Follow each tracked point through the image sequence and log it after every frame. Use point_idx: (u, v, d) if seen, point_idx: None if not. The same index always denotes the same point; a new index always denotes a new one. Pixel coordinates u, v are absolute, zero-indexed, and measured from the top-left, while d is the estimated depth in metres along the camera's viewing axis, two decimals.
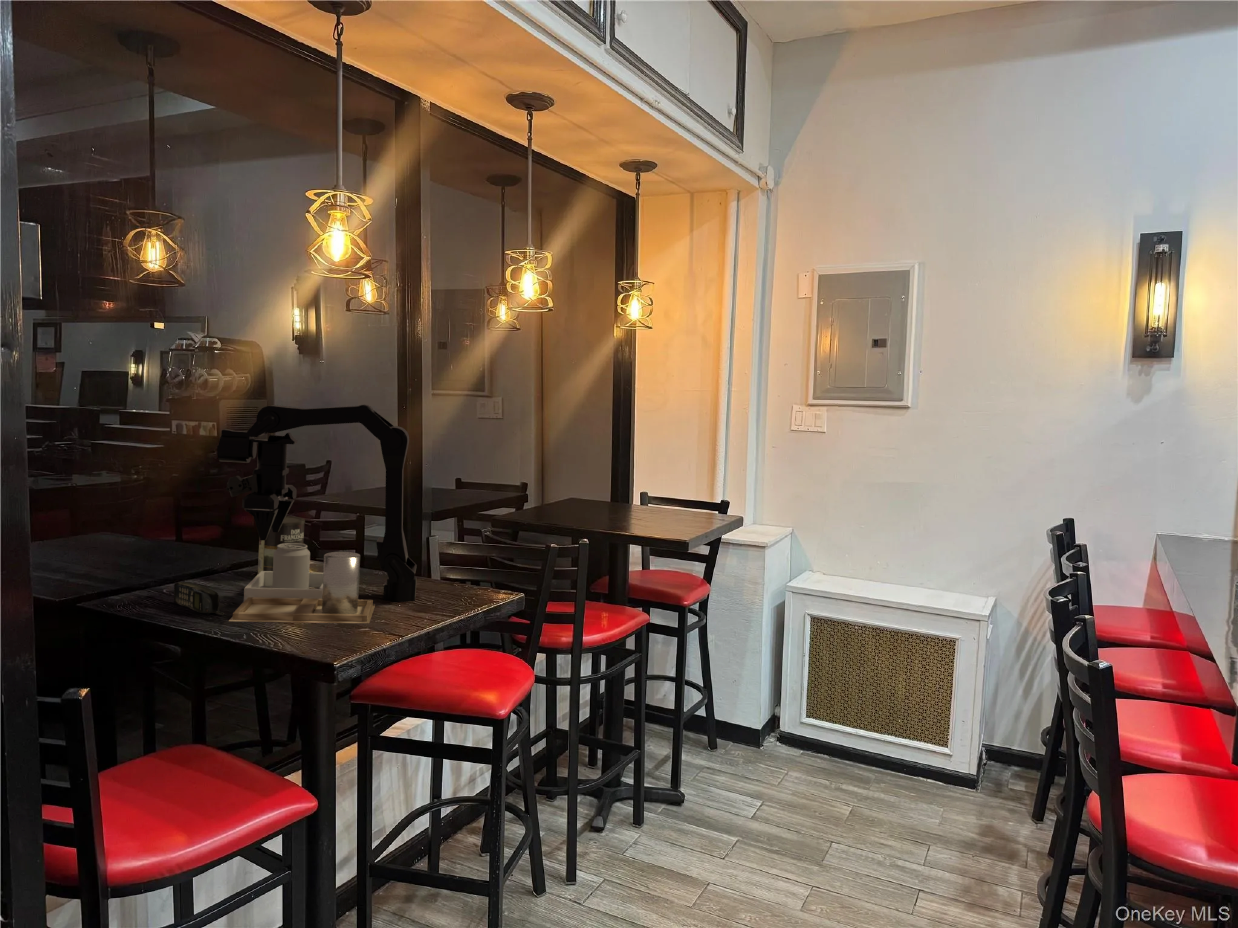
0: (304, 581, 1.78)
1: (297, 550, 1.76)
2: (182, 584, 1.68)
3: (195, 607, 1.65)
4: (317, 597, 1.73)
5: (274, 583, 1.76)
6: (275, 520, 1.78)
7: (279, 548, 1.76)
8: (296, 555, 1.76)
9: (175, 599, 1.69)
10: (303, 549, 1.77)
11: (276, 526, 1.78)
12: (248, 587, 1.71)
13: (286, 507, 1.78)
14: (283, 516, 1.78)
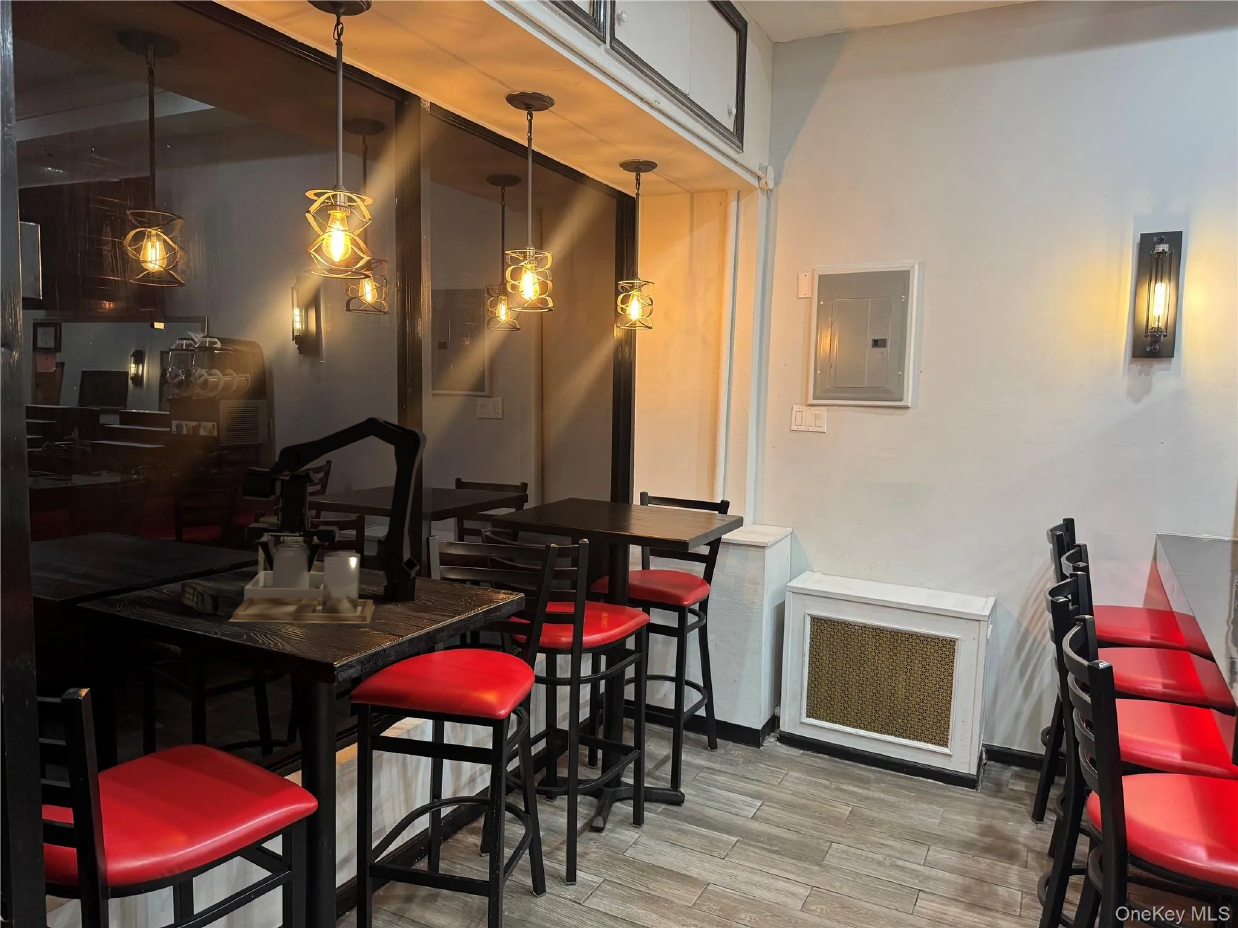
0: (304, 581, 1.78)
1: (297, 550, 1.76)
2: (188, 584, 1.68)
3: (197, 607, 1.65)
4: (317, 597, 1.73)
5: (274, 583, 1.76)
6: None
7: (279, 548, 1.76)
8: (296, 555, 1.76)
9: (182, 598, 1.69)
10: (303, 549, 1.77)
11: None
12: (248, 587, 1.71)
13: (311, 548, 1.77)
14: None
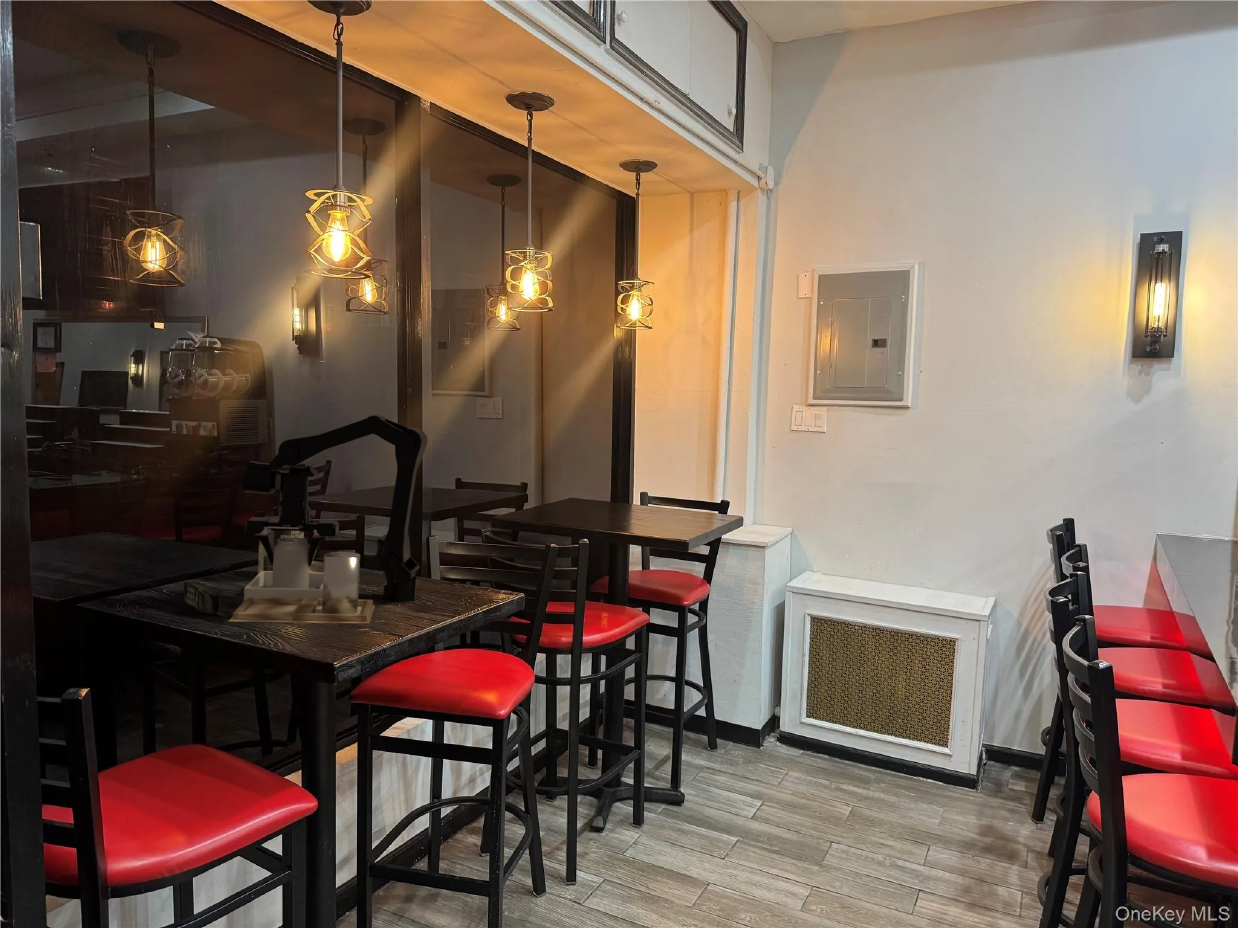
0: (304, 575, 1.78)
1: (297, 544, 1.76)
2: (190, 583, 1.69)
3: (198, 607, 1.65)
4: (317, 597, 1.73)
5: (274, 577, 1.76)
6: None
7: (279, 542, 1.76)
8: (296, 549, 1.75)
9: (184, 598, 1.70)
10: (303, 543, 1.77)
11: None
12: (248, 587, 1.71)
13: None
14: None
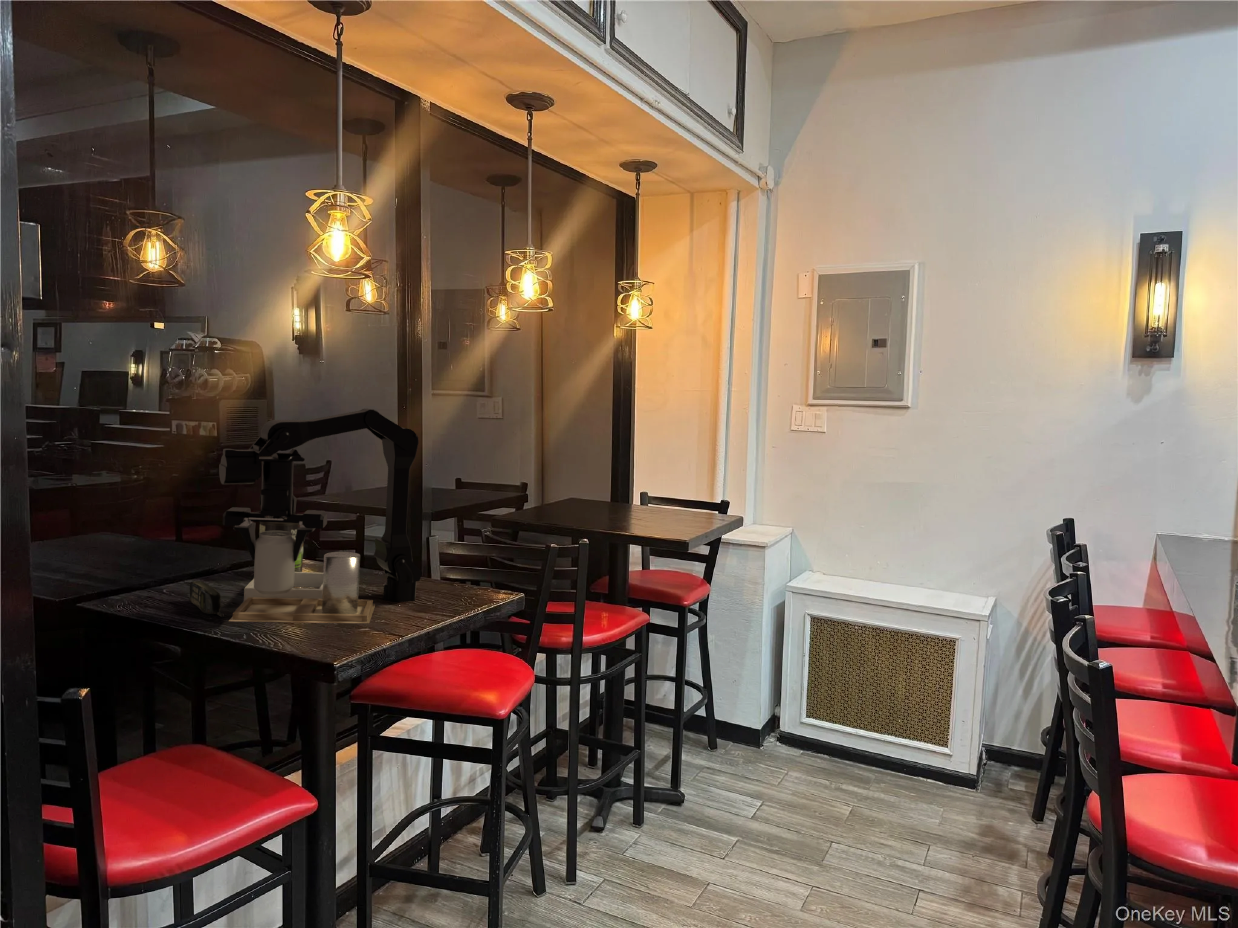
0: (289, 572, 1.62)
1: (281, 538, 1.60)
2: (195, 583, 1.69)
3: (201, 607, 1.65)
4: (317, 597, 1.73)
5: (256, 574, 1.60)
6: None
7: (261, 536, 1.60)
8: (280, 544, 1.59)
9: (190, 598, 1.70)
10: (287, 537, 1.61)
11: None
12: (248, 587, 1.71)
13: None
14: (295, 544, 1.62)
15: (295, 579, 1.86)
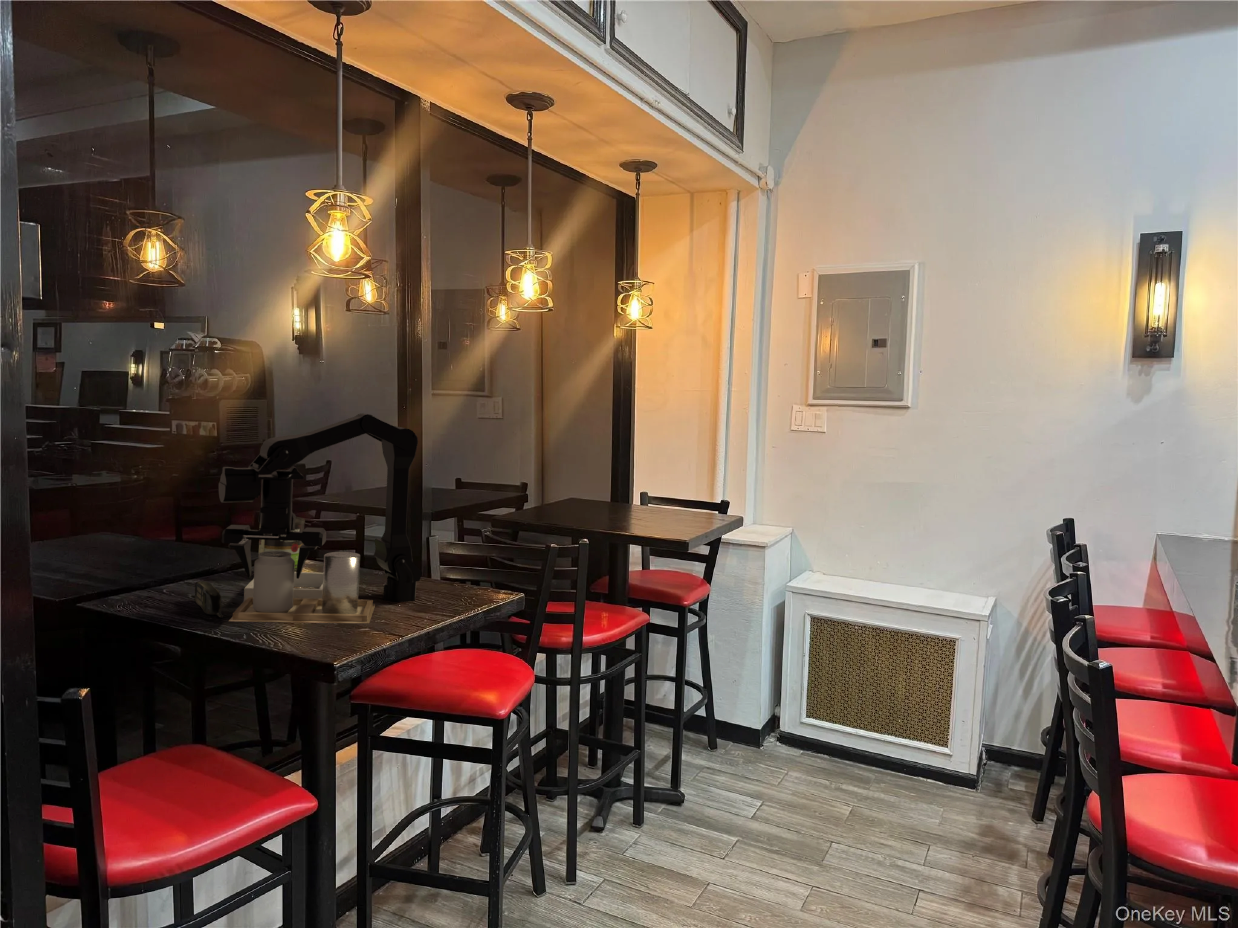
0: (288, 593, 1.62)
1: (280, 559, 1.60)
2: (199, 583, 1.69)
3: (203, 607, 1.65)
4: (317, 597, 1.73)
5: (255, 595, 1.61)
6: None
7: (260, 557, 1.60)
8: (279, 565, 1.60)
9: (195, 598, 1.71)
10: (286, 558, 1.62)
11: None
12: (248, 587, 1.71)
13: None
14: None
15: (295, 579, 1.86)
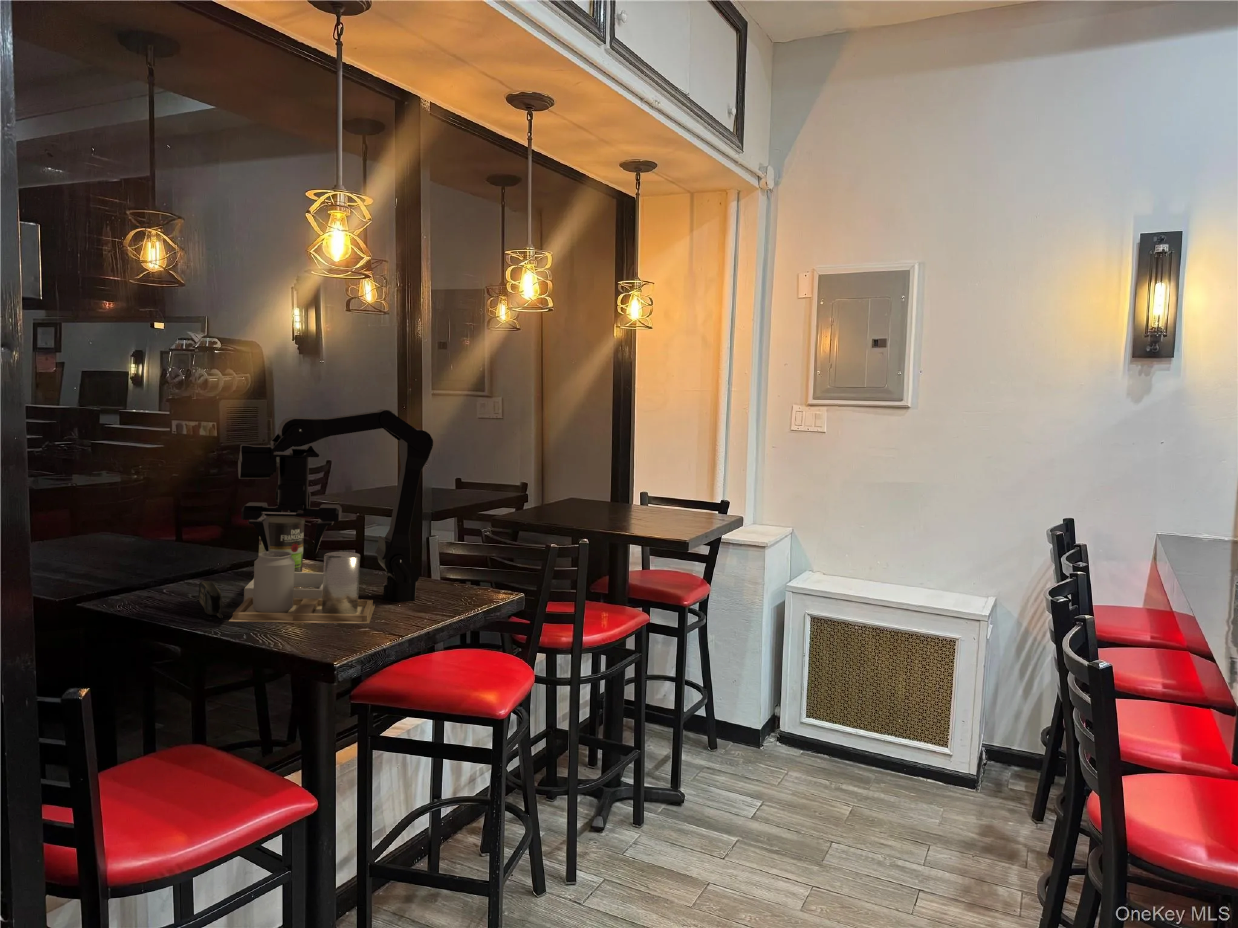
0: (288, 593, 1.62)
1: (280, 559, 1.60)
2: (203, 583, 1.70)
3: (204, 608, 1.65)
4: (317, 597, 1.73)
5: (255, 595, 1.61)
6: None
7: (260, 557, 1.60)
8: (279, 565, 1.60)
9: (199, 598, 1.71)
10: (287, 558, 1.62)
11: (314, 547, 1.68)
12: (248, 587, 1.71)
13: (316, 528, 1.66)
14: (315, 537, 1.67)
15: (295, 579, 1.86)
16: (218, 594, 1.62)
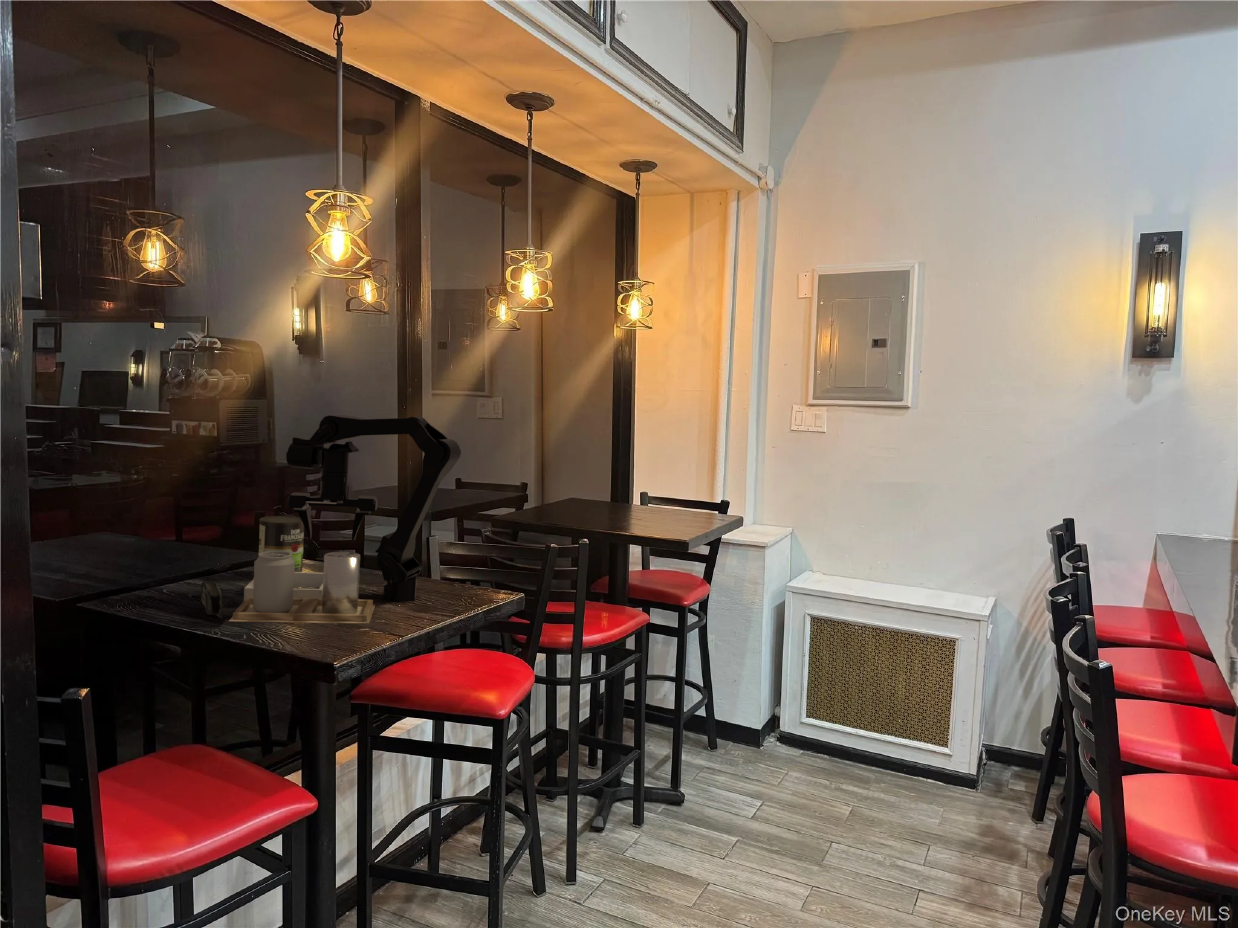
0: (288, 593, 1.62)
1: (280, 559, 1.60)
2: (205, 583, 1.70)
3: (205, 608, 1.65)
4: (317, 597, 1.73)
5: (255, 595, 1.61)
6: None
7: (260, 557, 1.60)
8: (279, 565, 1.60)
9: (201, 598, 1.71)
10: (287, 558, 1.62)
11: (352, 534, 1.82)
12: (248, 587, 1.71)
13: None
14: (353, 526, 1.81)
15: (295, 579, 1.86)
16: (218, 594, 1.62)
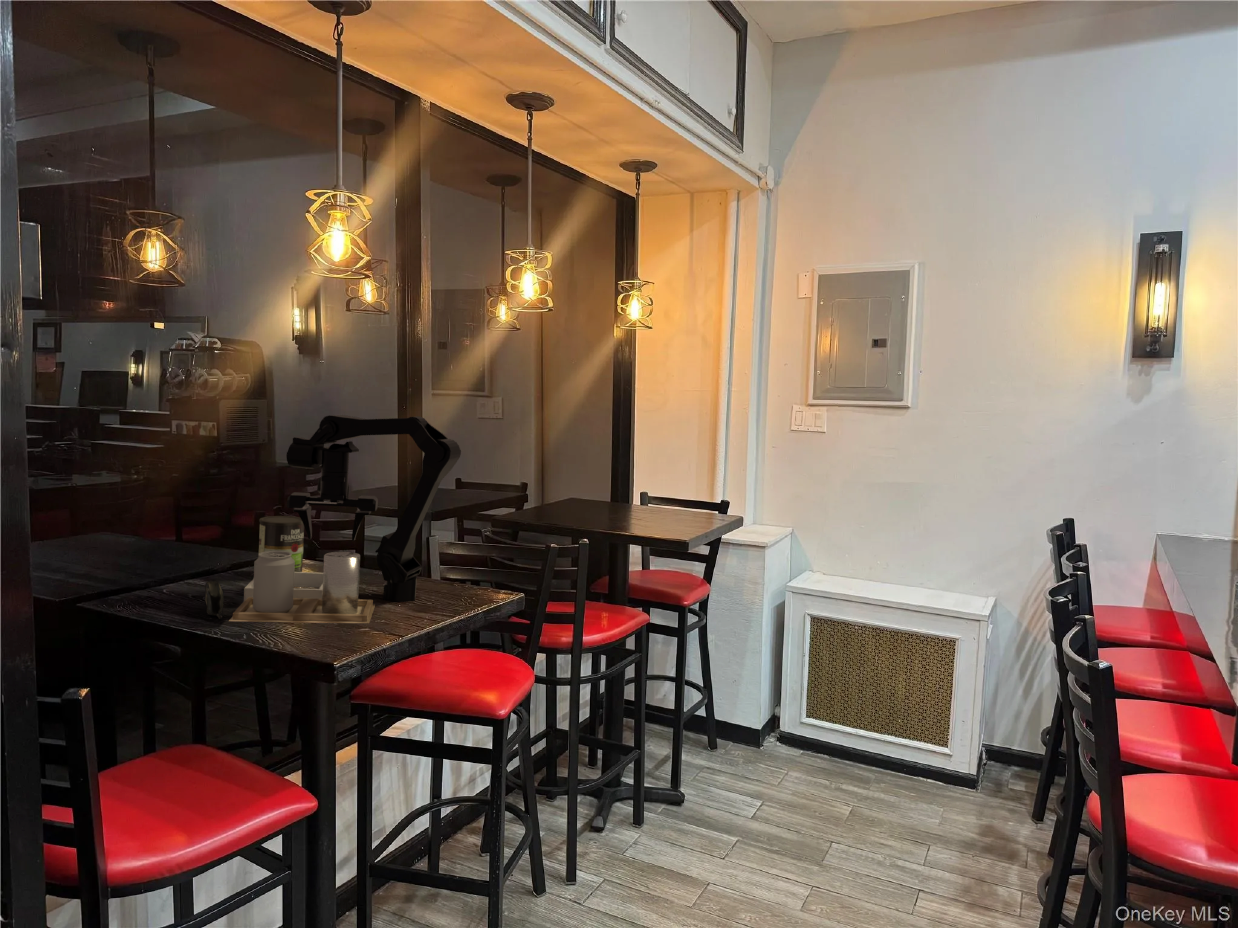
0: (288, 593, 1.62)
1: (280, 559, 1.60)
2: (208, 583, 1.70)
3: None
4: (317, 597, 1.73)
5: (255, 595, 1.61)
6: None
7: (260, 557, 1.60)
8: (279, 565, 1.60)
9: (205, 597, 1.71)
10: (287, 558, 1.62)
11: (352, 534, 1.82)
12: (248, 587, 1.71)
13: None
14: (353, 526, 1.81)
15: (295, 579, 1.86)
16: (218, 594, 1.62)
